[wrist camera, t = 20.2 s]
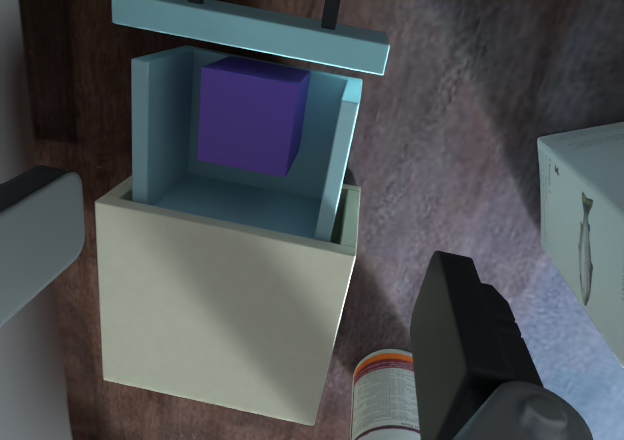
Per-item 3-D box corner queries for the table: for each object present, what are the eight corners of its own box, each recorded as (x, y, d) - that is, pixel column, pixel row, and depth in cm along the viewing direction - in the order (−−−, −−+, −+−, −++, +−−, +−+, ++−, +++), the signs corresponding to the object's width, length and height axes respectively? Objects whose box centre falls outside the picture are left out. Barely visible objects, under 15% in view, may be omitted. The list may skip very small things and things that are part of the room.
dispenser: (168, 147, 30) (94, 201, 22) (360, 186, 29) (356, 255, 21) (164, 293, 35) (102, 379, 27) (327, 328, 34) (314, 426, 27)
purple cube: (228, 55, 25) (200, 66, 21) (311, 70, 25) (299, 84, 21) (223, 136, 27) (196, 160, 23) (299, 150, 27) (285, 177, 23)
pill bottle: (418, 413, 37) (435, 570, 27) (344, 394, 37) (332, 543, 27) (445, 356, 34) (474, 507, 24) (364, 336, 34) (360, 478, 24)
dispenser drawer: (181, -141, 22) (105, -196, 16) (415, -99, 22) (432, -138, 16) (171, 173, 29) (116, 221, 23) (346, 209, 29) (339, 267, 23)
